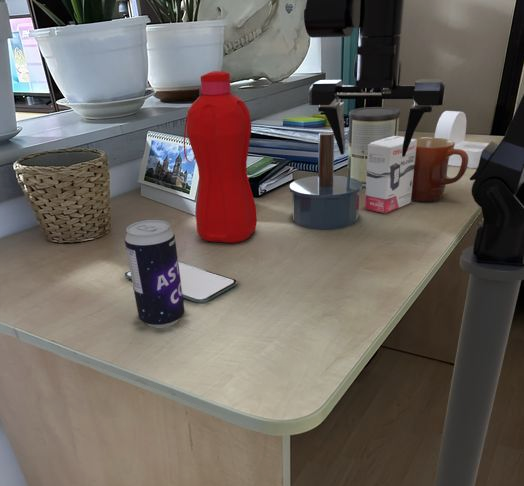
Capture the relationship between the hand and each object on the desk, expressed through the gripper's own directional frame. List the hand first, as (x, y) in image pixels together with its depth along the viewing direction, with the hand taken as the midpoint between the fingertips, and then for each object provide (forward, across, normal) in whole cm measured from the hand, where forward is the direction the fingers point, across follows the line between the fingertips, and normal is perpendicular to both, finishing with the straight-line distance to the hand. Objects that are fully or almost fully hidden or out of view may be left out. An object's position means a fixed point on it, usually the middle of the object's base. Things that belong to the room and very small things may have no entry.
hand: (372, 154), depth 82 cm
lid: (+8, +9, -8) cm, 14 cm away
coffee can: (+13, +5, -34) cm, 37 cm away
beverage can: (+13, +20, +34) cm, 42 cm away
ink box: (+13, -1, -17) cm, 22 cm away
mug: (+13, -9, -23) cm, 28 cm away
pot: (+13, +9, -8) cm, 18 cm away
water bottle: (+13, +24, +4) cm, 28 cm away
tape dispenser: (+13, -10, -56) cm, 58 cm away
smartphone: (+13, +23, +23) cm, 35 cm away
